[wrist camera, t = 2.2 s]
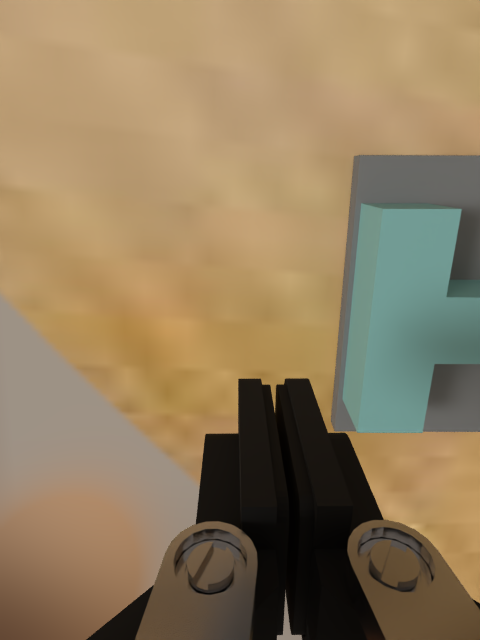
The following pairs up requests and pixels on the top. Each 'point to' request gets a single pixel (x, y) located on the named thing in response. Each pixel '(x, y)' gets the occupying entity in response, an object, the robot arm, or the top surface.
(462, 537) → the top surface
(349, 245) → the board
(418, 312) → the t block
